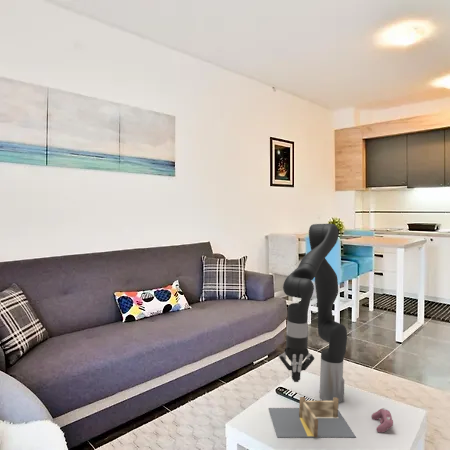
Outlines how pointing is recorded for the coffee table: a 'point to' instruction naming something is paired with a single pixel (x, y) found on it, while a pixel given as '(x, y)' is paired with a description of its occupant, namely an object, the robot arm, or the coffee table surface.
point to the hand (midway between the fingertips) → (295, 381)
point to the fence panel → (310, 419)
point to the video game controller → (383, 420)
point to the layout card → (297, 428)
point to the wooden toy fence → (321, 407)
